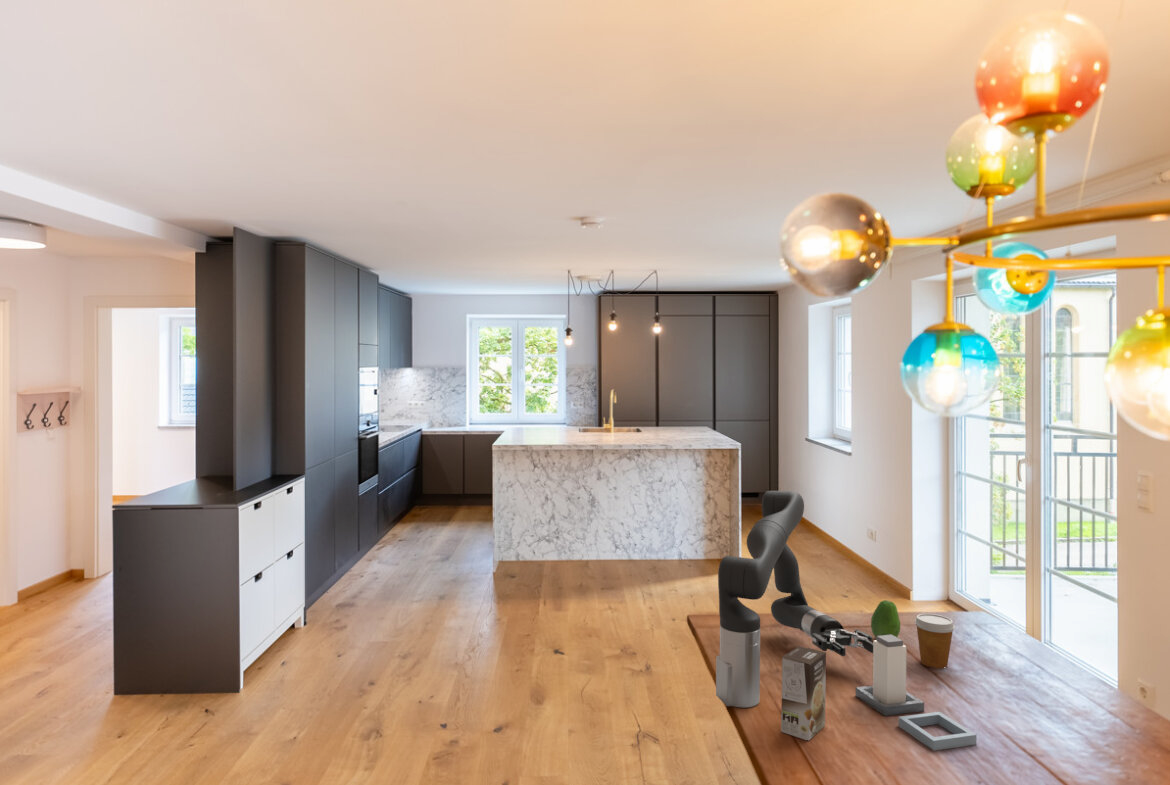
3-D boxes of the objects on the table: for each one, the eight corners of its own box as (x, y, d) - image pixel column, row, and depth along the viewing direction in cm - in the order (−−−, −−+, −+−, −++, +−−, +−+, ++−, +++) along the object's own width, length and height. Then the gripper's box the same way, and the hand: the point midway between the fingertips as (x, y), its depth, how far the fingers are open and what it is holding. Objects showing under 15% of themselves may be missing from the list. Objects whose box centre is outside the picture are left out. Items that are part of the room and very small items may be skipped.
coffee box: (809, 742, 144) (810, 664, 144) (780, 732, 148) (780, 657, 148) (825, 725, 151) (826, 651, 151) (797, 716, 155) (798, 644, 155)
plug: (886, 709, 158) (887, 643, 158) (872, 699, 163) (873, 635, 163) (905, 707, 160) (906, 641, 159) (891, 697, 165) (891, 633, 164)
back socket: (884, 716, 155) (884, 707, 155) (855, 695, 165) (855, 687, 165) (924, 711, 158) (924, 702, 158) (893, 691, 168) (893, 683, 168)
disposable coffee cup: (962, 668, 182) (963, 622, 182) (935, 673, 178) (936, 627, 178) (932, 654, 191) (932, 611, 191) (906, 659, 187) (906, 615, 187)
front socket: (933, 750, 141) (933, 740, 141) (898, 726, 151) (898, 716, 151) (976, 744, 143) (976, 734, 143) (939, 720, 153) (939, 711, 153)
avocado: (905, 646, 197) (906, 603, 197) (880, 647, 196) (880, 605, 196) (889, 635, 205) (890, 595, 205) (864, 637, 204) (865, 596, 204)
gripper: (798, 616, 186) (834, 638, 170) (845, 612, 190) (884, 633, 174) (798, 644, 186) (834, 668, 170) (844, 639, 190) (884, 663, 174)
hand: (859, 650), depth 172 cm, fingers open, 8 cm apart
